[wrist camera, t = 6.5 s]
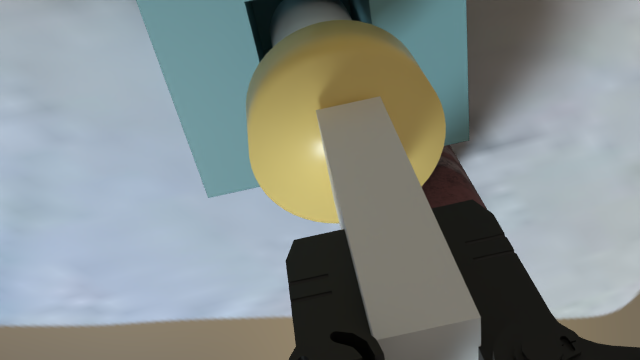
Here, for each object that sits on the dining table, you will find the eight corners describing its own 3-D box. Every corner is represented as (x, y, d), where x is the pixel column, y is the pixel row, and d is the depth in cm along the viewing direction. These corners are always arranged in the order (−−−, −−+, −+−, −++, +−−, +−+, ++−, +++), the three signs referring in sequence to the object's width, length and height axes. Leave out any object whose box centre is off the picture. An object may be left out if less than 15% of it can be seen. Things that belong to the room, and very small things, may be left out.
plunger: (258, 104, 22) (272, 240, 16) (223, -25, 19) (225, 79, 13) (386, 77, 22) (449, 201, 16) (370, -57, 19) (441, 31, 13)
